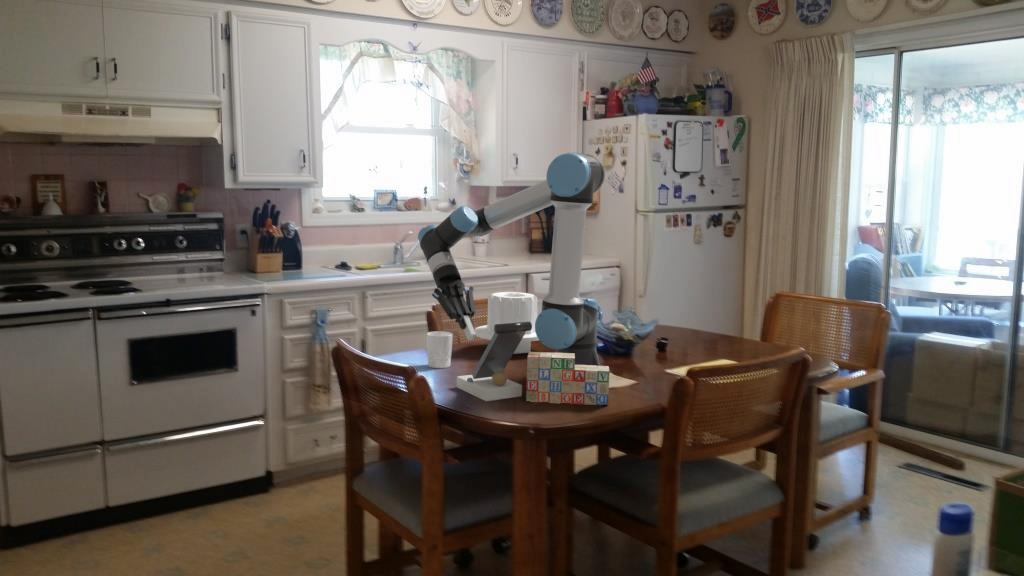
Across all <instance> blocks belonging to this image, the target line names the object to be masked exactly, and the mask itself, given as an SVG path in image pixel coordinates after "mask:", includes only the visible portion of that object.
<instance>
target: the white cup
mask: <svg viewBox="0 0 1024 576" xmlns="http://www.w3.org/2000/svg"><path fill="white" fill-rule="evenodd" d="M426 350H427V351H426V352H427V367H429V368H433V369H446V368H447V369H448V368H450V367H451V363H452V361H451V359H452V351H453V333H452V332H450V331H443V330H441V331H438V330H437V331H436V330H435V331H428V332H427V333H426Z"/></svg>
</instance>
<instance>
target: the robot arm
mask: <svg viewBox="0 0 1024 576" xmlns="http://www.w3.org/2000/svg"><path fill="white" fill-rule="evenodd" d="M545 176H546V179H545V180H543V181H540V182H538V183H536V184H533V185H530V186H529V187H526V188H525V189H522V190H520V191H517V192H516V193H513V194H511V195H509V196H506V197H504V198H502V199H500V200H497V201H494V202H493V203H491V204H489V205H486V206H484V207H482V208H479V209H477V210H475V211H474V210H473V209H471V208H470V207H469V206H466V205H460V206H458V207H457V208H456V209H455V210H453V211H452V212H451V213H450V214H449V215H448V216H447V217H446V218H445V219H443V221H441V222H440V223H439V224H438V225H437V224H429V225H428V224H427V226H423V227H422V228H421V229H420V230H419V231H418V234H417V239H418V243H419V247H420V250H422V252H423V255H424V257H425V260H426V263H427V264H428V268H429V270H430V272H431V275H432V277H433V281H434V283H435V285H436V288H434V290H433V292H432V294H431V296H432V297H433V298H434V299H436V301H438V303H439V304H440V306H441V308H442V309H443V311H444V312H445V314H446V315H447V317H448V318H449V319H450V320H455V321H454V322H455V323H458V325H459V328H460V329H461V330H463V333H464V334H465V337H466V339H467V340H468V341H472V340H474V339H475V337H476V333H475V331H474V330H475V328H474V327H475V323H474V321H473V317H474V315H475V314H476V306H475V302H474V301H475V300H474V294H473V292H474V290H475V289H474V286H466V285H465V283H464V282H463V281H462V277H461V273H460V272H459V271H460V270H459V269H458V267H457V264H456V262H455V259H454V257H453V255H452V253H451V248H453V247H454V246H455V245H456V244H458V243H459V242H460V241H461V240H462V239H464V238H471V237H484V236H486V235H488V234H490V233H491V232H492V231H494V230H497V229H498V228H501V227H503V226H506V225H508V224H511V223H513V222H515V221H517V220H520V219H522V218H525V217H527V216H529V215H532V214H535V213H536V212H539V211H541V210H543V209H546V208H549V207H551V206H553V207H554V220H553V234H552V245H551V246H552V247H551V258H550V272H549V284H548V293H547V294H546V295H544V296H543V297H542V303H541V312H540V313H539V314H537V319H536V321H535V332H536V335H537V337H538V339H539V340H538V341H540V342H541V343H542V344H543V345H544V346H545V347H547V348H548V349H551V350H555V352H554V353H575V365H596V366H602V365H601V361H600V359H599V356H598V352H597V337H598V336H597V333H598V312H599V309H598V302H597V300H596V299H594V298H588V297H581V296H580V287H581V277H582V276H581V274H582V266H583V265H582V263H583V252H584V242H585V241H584V240H585V230H586V228H585V227H586V219H587V218H586V217H587V210H588V209H589V208H590V207H592V205H593V203H594V193H596V192H597V191H599V190H600V188H601V187H602V185H603V184H604V182H605V176H606V175H605V169H604V165H603V164H602V162H601V161H600V160H599V159H598V158H597V157H595V156H594V155H591V154H589V153H579V152H565V153H562V154H560V155H557V156H556V157H554V159H552V161H551V162H550V164H549V165H548V167H547V171H546V175H545ZM464 296H465V297H464Z"/></svg>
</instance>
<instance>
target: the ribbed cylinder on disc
mask: <svg viewBox="0 0 1024 576" xmlns="http://www.w3.org/2000/svg"><path fill="white" fill-rule="evenodd" d="M486 317H487V322H486V324H485V325H481V326H480V325H479V326H477V327H475V328H474V331H475V333H476V335H475V337H477V338H480V339H484V340H488V341H490V340H491V339H492V337H493V335H494V333H495V331H494V326H495V325H496V324H506V323H518V322H531V324H532V329H531V331H526V333H525V335H524V336H523V338H522V340H521V341H520V343H519V345H518V347H517V348H516V350H515V352H514V353H513V355H518V354H519V355H520V354H529V352H532V351H531V348H532V342H536V341H540V340H539V339H538V337H537V335H536V332H535V321H536V319H537V317H538V297H537V296H536V295H534V294H533V293H528V292H519V291H518V292H517V291H501V292H493V293H489V295H488V297H487V316H486Z"/></svg>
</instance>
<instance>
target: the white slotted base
mask: <svg viewBox="0 0 1024 576" xmlns="http://www.w3.org/2000/svg"><path fill="white" fill-rule="evenodd" d="M456 388H458V389H459V390H462V391H464V392H466V393H468V394H470V395H472V396H474V397H476V398H478V399H480V400H482V401H484V402H491V401H497V400H498V401H499V400H504V399H511V398H519V397H522V394H523V385H522V384H520V383H518V382H516V381H512V380H510V379H508V375H507V373H506V372H505V371H500V370H499V371H496V372H495V373H494V374H493V376H492V377H486V378H478V379H474V378H473V376H472V374H468V375H467V374H466V375H459V376H458V375H457V376H456Z"/></svg>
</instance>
